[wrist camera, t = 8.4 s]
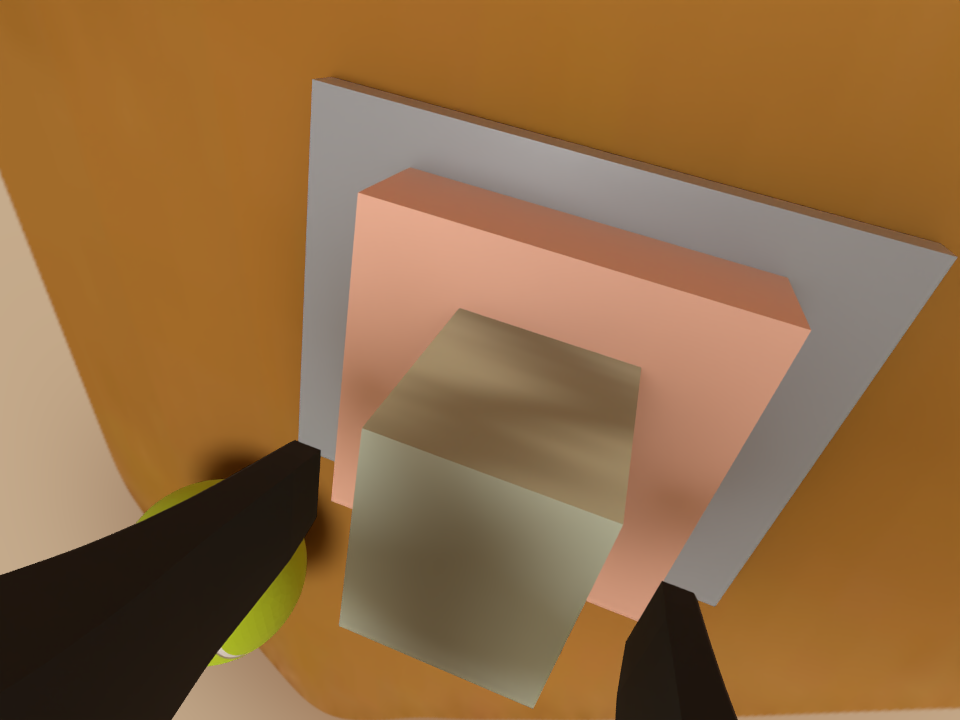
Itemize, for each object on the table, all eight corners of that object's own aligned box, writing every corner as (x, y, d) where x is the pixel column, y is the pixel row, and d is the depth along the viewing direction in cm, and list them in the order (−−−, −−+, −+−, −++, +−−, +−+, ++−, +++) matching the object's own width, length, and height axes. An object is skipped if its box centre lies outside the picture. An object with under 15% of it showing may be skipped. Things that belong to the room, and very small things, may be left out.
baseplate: (940, 243, 14) (957, 257, 13) (713, 583, 20) (714, 606, 20) (331, 76, 16) (312, 78, 15) (311, 432, 23) (298, 447, 22)
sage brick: (641, 367, 13) (623, 524, 9) (571, 532, 16) (532, 708, 12) (459, 307, 14) (361, 428, 9) (424, 477, 17) (338, 625, 12)
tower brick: (788, 277, 14) (811, 330, 11) (644, 545, 19) (639, 622, 17) (409, 167, 15) (357, 192, 13) (373, 444, 21) (331, 500, 18)
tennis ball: (326, 462, 24) (209, 604, 18) (346, 579, 27) (253, 730, 21) (185, 433, 25) (36, 552, 19) (220, 546, 29) (102, 676, 23)
